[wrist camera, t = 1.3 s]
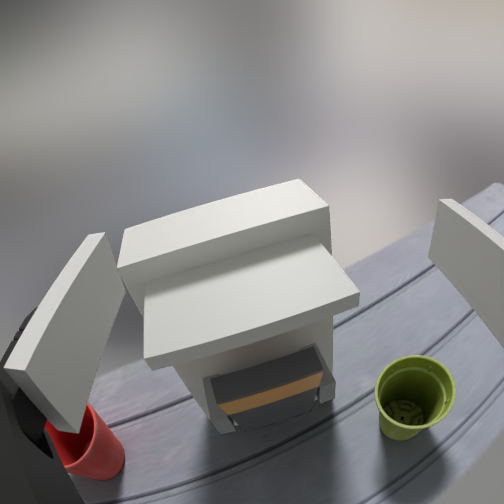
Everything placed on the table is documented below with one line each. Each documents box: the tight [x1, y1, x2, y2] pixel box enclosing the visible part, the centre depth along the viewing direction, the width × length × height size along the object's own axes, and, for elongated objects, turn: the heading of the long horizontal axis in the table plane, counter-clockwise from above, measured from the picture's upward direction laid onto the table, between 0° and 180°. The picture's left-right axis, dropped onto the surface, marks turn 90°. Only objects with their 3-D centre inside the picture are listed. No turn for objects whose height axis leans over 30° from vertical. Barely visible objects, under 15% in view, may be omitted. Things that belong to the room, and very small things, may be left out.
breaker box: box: [117, 179, 360, 435], centre depth 29 cm, size 16×13×28 cm
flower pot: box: [45, 402, 125, 480], centre depth 31 cm, size 11×11×10 cm
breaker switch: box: [210, 346, 323, 431], centre depth 28 cm, size 9×2×16 cm, turn 105°
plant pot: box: [375, 355, 456, 441], centre depth 30 cm, size 9×9×9 cm
